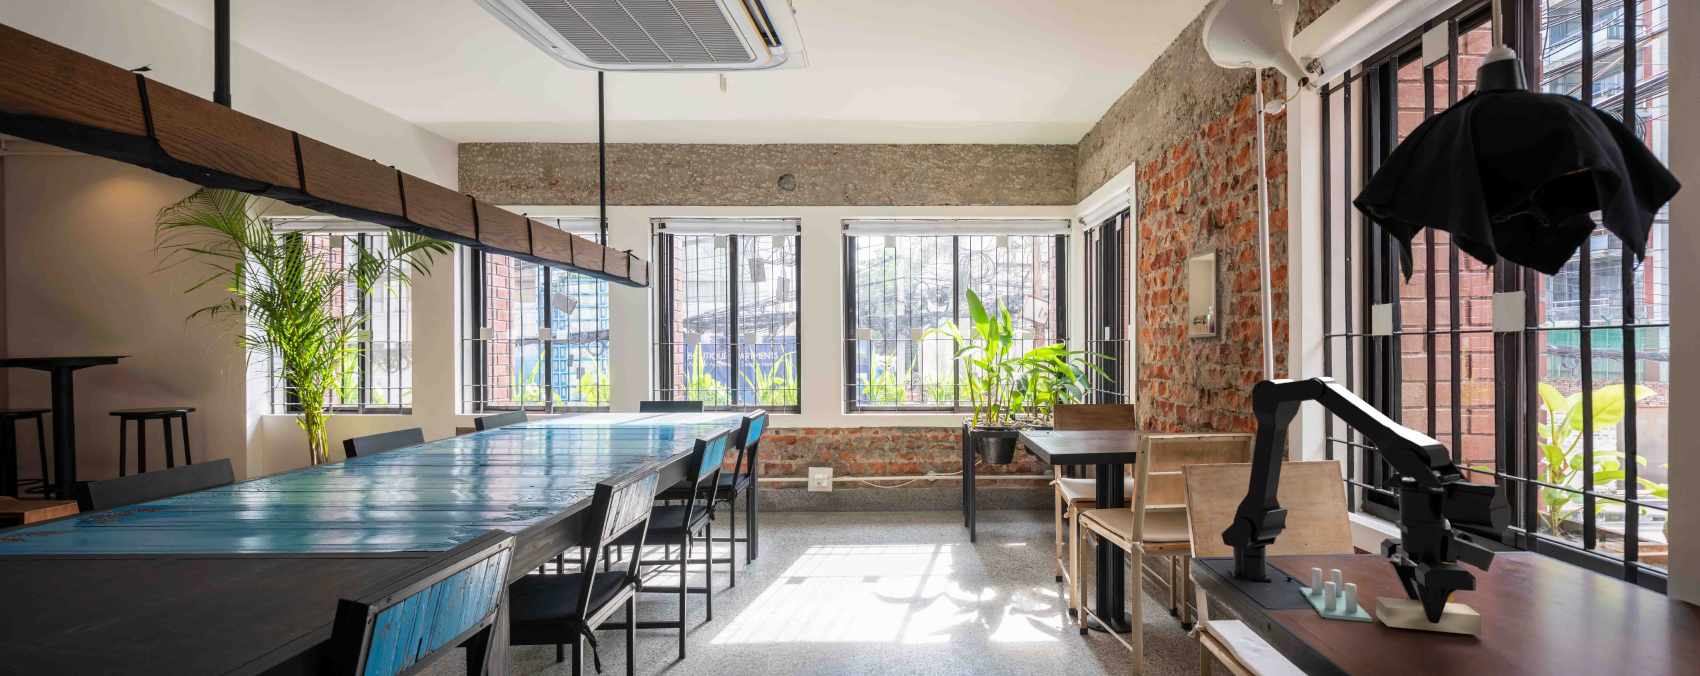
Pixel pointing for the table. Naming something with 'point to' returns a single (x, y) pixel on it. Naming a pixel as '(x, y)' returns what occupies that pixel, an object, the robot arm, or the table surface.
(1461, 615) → the board
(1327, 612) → the peg stand
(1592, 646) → the table surface
